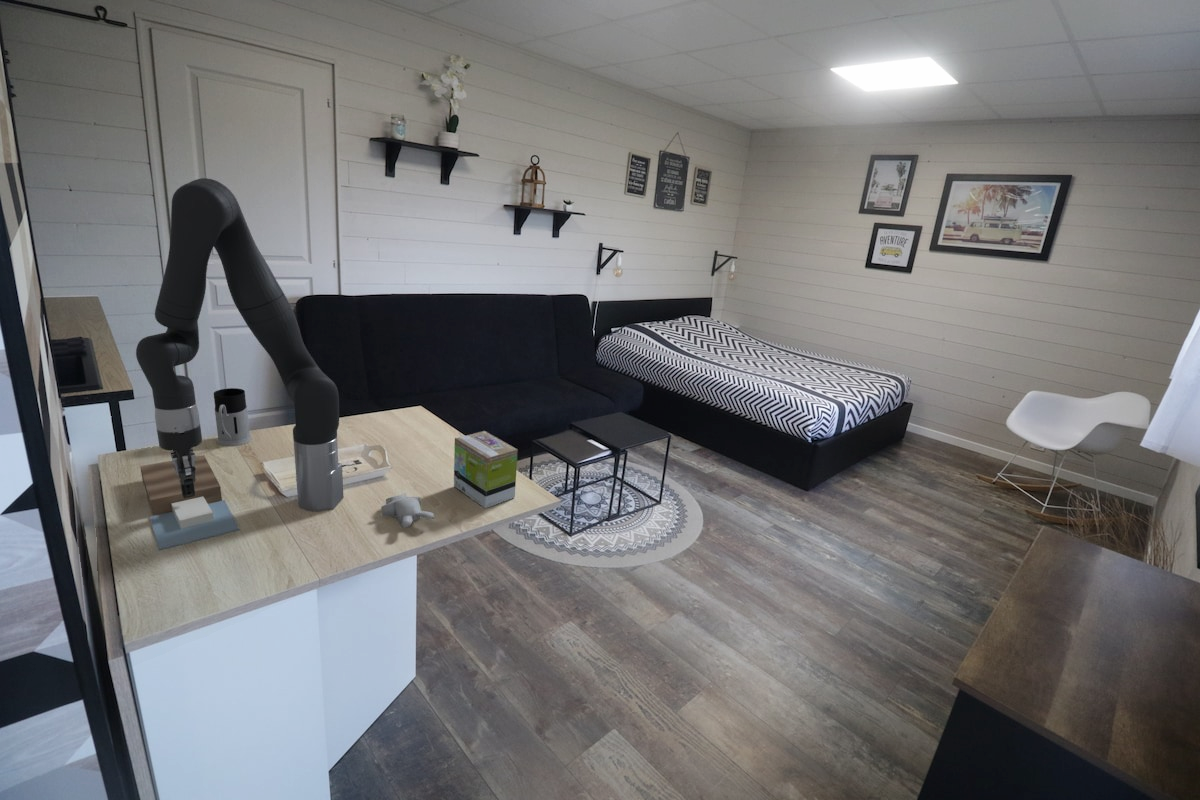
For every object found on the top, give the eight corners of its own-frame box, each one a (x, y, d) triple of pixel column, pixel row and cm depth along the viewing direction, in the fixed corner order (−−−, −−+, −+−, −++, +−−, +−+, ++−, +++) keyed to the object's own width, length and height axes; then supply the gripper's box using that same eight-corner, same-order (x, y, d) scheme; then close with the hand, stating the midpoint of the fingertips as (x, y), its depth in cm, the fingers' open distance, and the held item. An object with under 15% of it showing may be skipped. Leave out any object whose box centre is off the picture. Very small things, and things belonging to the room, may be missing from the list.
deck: (142, 480, 137) (140, 466, 136) (206, 469, 146) (204, 455, 144) (152, 516, 123) (150, 500, 122) (222, 500, 132) (220, 485, 131)
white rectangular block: (172, 511, 125) (171, 503, 125) (204, 503, 129) (203, 496, 129) (180, 528, 119) (179, 520, 119) (213, 520, 124) (212, 512, 123)
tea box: (452, 487, 150) (453, 436, 145) (483, 477, 157) (485, 429, 153) (484, 509, 141) (487, 456, 136) (516, 498, 148) (519, 447, 143)
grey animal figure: (411, 486, 140) (438, 505, 129) (412, 505, 141) (439, 525, 131) (373, 495, 134) (399, 516, 123) (375, 515, 135) (400, 537, 124)
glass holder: (255, 434, 169) (250, 387, 164) (242, 453, 156) (237, 403, 151) (221, 435, 166) (216, 387, 161) (206, 454, 153) (199, 403, 148)
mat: (150, 517, 123) (149, 516, 123) (224, 501, 132) (224, 500, 132) (159, 550, 112) (158, 548, 112) (239, 529, 122) (239, 528, 122)
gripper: (152, 417, 121) (163, 488, 126) (160, 438, 112) (172, 513, 117) (194, 412, 126) (203, 480, 131) (205, 431, 117) (214, 504, 122)
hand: (188, 495), depth 124 cm, fingers closed
